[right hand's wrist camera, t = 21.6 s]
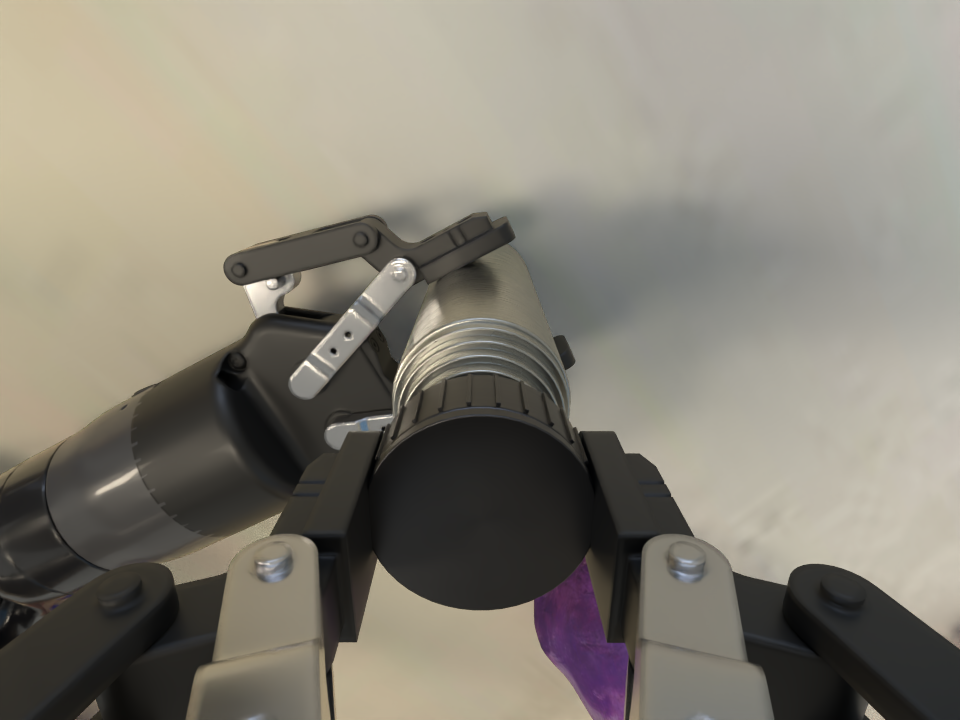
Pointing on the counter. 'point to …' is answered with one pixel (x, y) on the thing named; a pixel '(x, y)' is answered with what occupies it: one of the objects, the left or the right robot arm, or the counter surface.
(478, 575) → the cap
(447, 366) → the bottle
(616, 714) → the figurine
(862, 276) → the counter surface
